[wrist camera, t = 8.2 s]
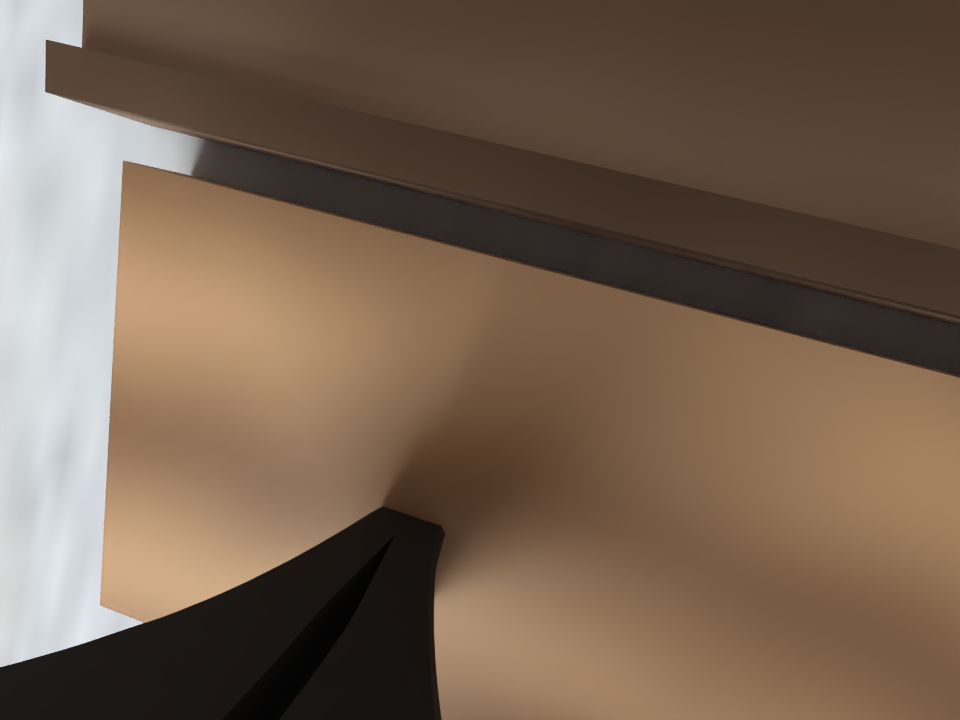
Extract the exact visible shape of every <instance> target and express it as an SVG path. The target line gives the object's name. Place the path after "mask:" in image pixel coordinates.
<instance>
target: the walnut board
mask: <svg viewBox="0 0 960 720" xmlns="http://www.w3.org/2000/svg"><path fill="white" fill-rule="evenodd" d="M45 92H47V93H51V94H54V95H57V96H60V97H63V98H66V99H69V100H72V101H76V102H79V103H82V104H85V105H88V106H91V107H94V108H97V109H101V110H104V111H107V112H110V113H113V114H116V115H119V116H122V117H126V118H129V119H132V120H135V121H138V122H141V123H144V124H147V125H151V126H155V127H159V128H163V129H167V130H171V131H175V132H179V133H183V134H187V135H191V136H195V137H199V138H203V139H207V140H211V141H215V142H219V143H223V144H227V145H231V146H235V147H239V148H244V149H248V150H252V151H256V152H260V153H264V154H268V155H272V156H276V157H280V158H284V159H288V160H292V161H296V162H300V163H304V164H308V165H312V166H316V167H320V168H324V169H328V170H332V171H336V172H341V173H345V174H349V175H353V176H357V177H361V178H365V179H369V180H373V181H377V182H381V183H385V184H389V185H393V186H397V187H401V188H405V189H409V190H413V191H417V192H421V193H425V194H429V195H433V196H438V197H442V198H446V199H450V200H454V201H458V202H462V203H466V204H470V205H474V206H478V207H482V208H486V209H490V210H494V211H498V212H502V213H506V214H510V215H514V216H518V217H522V218H526V219H531V220H535V221H539V222H543V223H547V224H551V225H555V226H559V227H563V228H567V229H571V230H575V231H579V232H583V233H587V234H591V235H595V236H599V237H603V238H607V239H611V240H615V241H619V242H623V243H628V244H632V245H636V246H640V247H644V248H648V249H652V250H656V251H660V252H664V253H668V254H672V255H676V256H680V257H684V258H688V259H692V260H696V261H700V262H704V263H708V264H712V265H716V266H721V267H725V268H729V269H733V270H737V271H741V272H745V273H749V274H753V275H757V276H761V277H765V278H769V279H773V280H777V281H781V282H785V283H789V284H793V285H797V286H801V287H805V288H809V289H813V290H818V291H822V292H826V293H830V294H834V295H838V296H842V297H846V298H850V299H854V300H858V301H862V302H866V303H870V304H874V305H878V306H882V307H886V308H890V309H894V310H898V311H902V312H906V313H910V314H915V315H919V316H923V317H927V318H931V319H935V320H939V321H943V322H947V323H951V324H955V325H959V326H960V0H83V35H82V48H80V47H76V46H71V45H67V44H63V43H58V42H54V41H50V40H46V78H45Z"/></svg>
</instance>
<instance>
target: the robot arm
mask: <svg viewBox="0 0 960 720" xmlns="http://www.w3.org/2000/svg"><path fill="white" fill-rule="evenodd" d="M444 537H445V532H444V530H443V528H442V526H439V525H436V524H433V523H430V522H427V521H424V520H421V519H418V518H415V517H413V516H410V515H407V514H404V513H401V512H398V511H395V510H392V509H389V508H386V507H383V506H382V507H380V508H378V509H376V510H374V511H373V512H371V513H369V514H368V515H366V516H364V517H363V518H361V519H360V520H358V521H356V522H355V523H353V524H351V525H350V526H348V527H347V528H345V529H343V530H342V531H340V532H338V533H337V534H335V535H333V536H332V537H330V538H328V539H326V540H325V541H323V542H321V543H319V544H318V545H316V546H314V547H312V548H310V549H309V550H307V551H305V552H303V553H302V554H300V555H298V556H296V557H294V558H292V559H291V560H289V561H287V562H285V563H283V564H281V565H279V566H277V567H275V568H273V569H271V570H269V571H267V572H265V573H263V574H261V575H259V576H257V577H255V578H253V579H251V580H249V581H247V582H245V583H243V584H241V585H238V586H236V587H234V588H232V589H230V590H227V591H225V592H223V593H221V594H218V595H216V596H214V597H211V598H209V599H207V600H204V601H202V602H199V603H197V604H194V605H192V606H189V607H187V608H184V609H182V610H179V611H177V612H174V613H172V614H169V615H166V616H164V617H161V618H158V619H155V620H152V621H149V622H146V623H143V624H140V625H137V626H134V627H131V628H128V629H125V630H122V631H119V632H117V633H114V634H111V635H108V636H105V637H102V638H99V639H96V640H93V641H90V642H87V643H84V644H81V645H78V646H74V647H71V648H68V649H64V650H61V651H57V652H54V653H50V654H47V655H44V656H40V657H37V658H33V659H30V660H26V661H23V662H19V663H15V664H12V665H8V666H4V667H0V720H442V719H441V710H440V702H439V694H438V684H437V673H436V660H435V639H434V591H435V575H436V567H437V563H438V559H439V556H440V552H441V548H442V544H443V541H444Z"/></svg>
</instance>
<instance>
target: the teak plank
mask: <svg viewBox="0 0 960 720" xmlns="http://www.w3.org/2000/svg"><path fill="white" fill-rule="evenodd" d="M382 506H383V507H386V508H389V509H392V510H395V511H398V512H401V513H404V514H407V515H410V516H413V517H415V518H418V519H421V520H424V521H427V522H430V523H433V524H436V525H439V526H442V528H443V530H444V532H445V537H444V541H443V544H442V548H441V552H440V556H439V559H438V563H437V567H436V575H435V591H434V639H435V660H436V673H437V684H438V694H439V702H440V710H441V719H442V720H960V375H958V374H954V373H950V372H946V371H943V370H939V369H935V368H931V367H927V366H923V365H919V364H916V363H912V362H908V361H904V360H900V359H896V358H892V357H888V356H885V355H881V354H877V353H873V352H869V351H865V350H861V349H858V348H854V347H850V346H846V345H842V344H838V343H834V342H831V341H827V340H823V339H819V338H815V337H811V336H807V335H804V334H800V333H796V332H792V331H788V330H784V329H780V328H776V327H773V326H769V325H765V324H761V323H757V322H753V321H749V320H746V319H742V318H738V317H734V316H730V315H726V314H722V313H719V312H715V311H711V310H707V309H703V308H699V307H695V306H692V305H688V304H684V303H680V302H676V301H672V300H668V299H664V298H661V297H657V296H653V295H649V294H645V293H641V292H637V291H634V290H630V289H626V288H622V287H618V286H614V285H610V284H607V283H603V282H599V281H595V280H591V279H587V278H583V277H580V276H576V275H572V274H568V273H564V272H560V271H556V270H552V269H549V268H545V267H541V266H537V265H533V264H529V263H525V262H522V261H518V260H514V259H510V258H506V257H502V256H498V255H495V254H491V253H487V252H483V251H479V250H475V249H471V248H468V247H464V246H460V245H456V244H452V243H448V242H444V241H440V240H437V239H433V238H429V237H425V236H421V235H417V234H413V233H410V232H406V231H402V230H398V229H394V228H390V227H386V226H383V225H379V224H375V223H371V222H367V221H363V220H359V219H356V218H352V217H348V216H344V215H340V214H336V213H332V212H328V211H325V210H321V209H317V208H313V207H309V206H305V205H301V204H298V203H294V202H290V201H286V200H282V199H278V198H274V197H271V196H267V195H263V194H259V193H255V192H251V191H247V190H244V189H240V188H236V187H232V186H228V185H224V184H220V183H216V182H213V181H209V180H205V179H201V178H197V177H193V176H189V175H185V174H181V173H176V172H172V171H167V170H163V169H158V168H154V167H149V166H145V165H140V164H136V163H131V162H127V161H123V173H122V192H121V211H120V231H119V250H118V269H117V288H116V308H115V327H114V346H113V365H112V384H111V404H110V423H109V442H108V461H107V481H106V500H105V519H104V538H103V558H102V577H101V596H100V605H101V606H103V607H106V608H108V609H111V610H113V611H116V612H118V613H121V614H124V615H126V616H129V617H131V618H134V619H136V620H139V621H141V622H144V623H146V622H149V621H152V620H155V619H158V618H161V617H164V616H166V615H169V614H172V613H174V612H177V611H179V610H182V609H184V608H187V607H189V606H192V605H194V604H197V603H199V602H202V601H204V600H207V599H209V598H211V597H214V596H216V595H218V594H221V593H223V592H225V591H227V590H230V589H232V588H234V587H236V586H238V585H241V584H243V583H245V582H247V581H249V580H251V579H253V578H255V577H257V576H259V575H261V574H263V573H265V572H267V571H269V570H271V569H273V568H275V567H277V566H279V565H281V564H283V563H285V562H287V561H289V560H291V559H292V558H294V557H296V556H298V555H300V554H302V553H303V552H305V551H307V550H309V549H310V548H312V547H314V546H316V545H318V544H319V543H321V542H323V541H325V540H326V539H328V538H330V537H332V536H333V535H335V534H337V533H338V532H340V531H342V530H343V529H345V528H347V527H348V526H350V525H351V524H353V523H355V522H356V521H358V520H360V519H361V518H363V517H364V516H366V515H368V514H369V513H371V512H373V511H374V510H376V509H378V508H380V507H382Z"/></svg>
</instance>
